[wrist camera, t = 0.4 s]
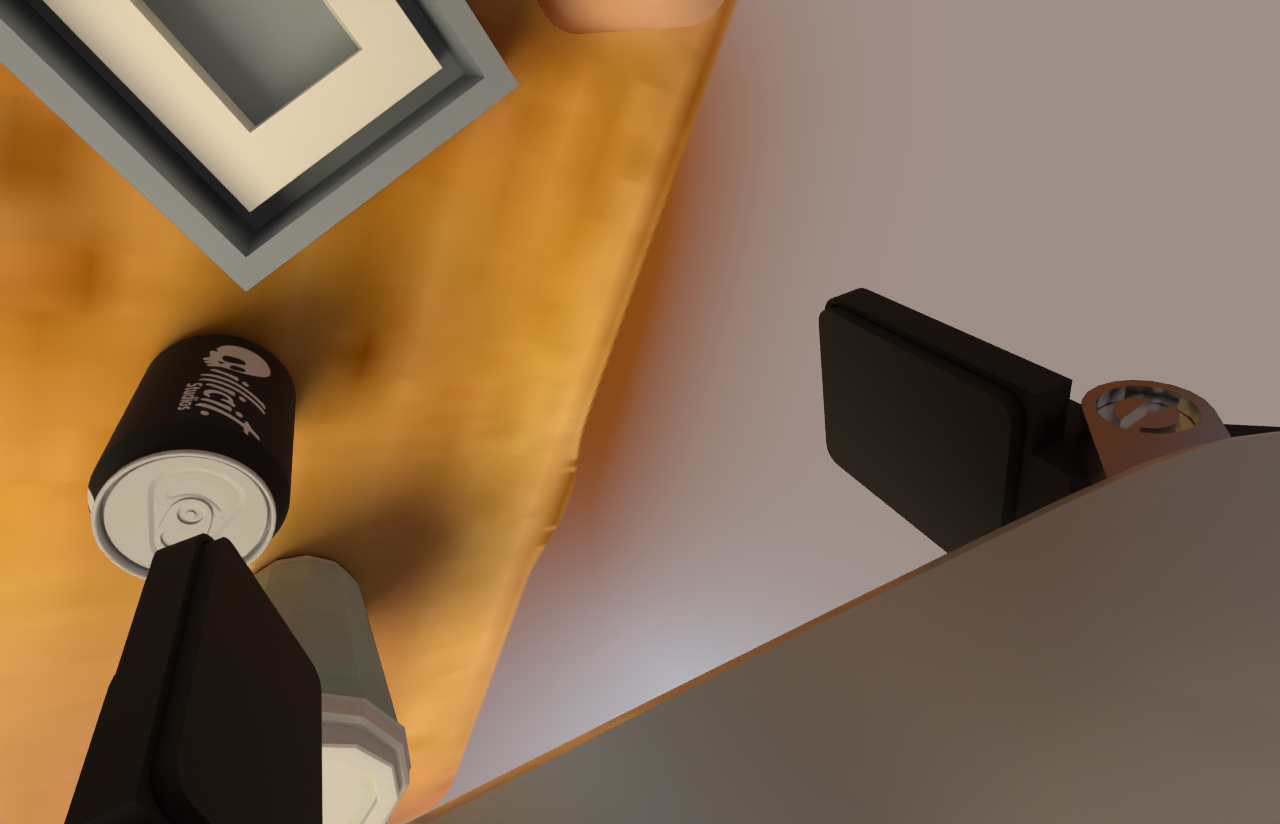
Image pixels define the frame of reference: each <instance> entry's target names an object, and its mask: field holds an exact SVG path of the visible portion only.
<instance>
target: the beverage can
mask: <svg viewBox="0 0 1280 824" xmlns="http://www.w3.org/2000/svg"><path fill="white" fill-rule="evenodd" d="M295 404H296V395H295V388H294V385H293V382H292V379H291V377H290V375H289V373H288V371H287V370H286V368H285V367H284V366H283V365H282V363H281V362H280V361H279V360H278V359H277V358H276V357H275V356H274V355H272V354H271V353H270V352H268V351H267V350H265V349H264V348H262V347H261V346H259V345H257V344H255V343H253V342H250V341H248V340H245V339H241V338H237V337H233V336H226V335H203V336H197V337H192V338H188V339H185V340H182V341H180V342H178V343H175V344H173V345H172V346H170V347H168V348H167V349H165V350H164V351H163V352H161V353H160V354H159V355H158V356H157V357H156V358H155V359H154V360H153V362H152V363H151V364H150V366H149V367H148V369H147V371H146V373H145V375H144V377H143V378H142V380H141V382H140V384H139V386H138V388H137V390H136V392H135V394H134V395H133V397H132V399H131V401H130V403H129V405H128V407H127V409H126V410H125V412H124V414H123V416H122V418H121V420H120V422H119V424H118V426H117V427H116V429H115V431H114V433H113V435H112V437H111V439H110V441H109V443H108V444H107V446H106V448H105V450H104V452H103V454H102V456H101V458H100V460H99V461H98V463H97V465H96V467H95V469H94V471H93V473H92V475H91V478H90V482H89V485H88V506H89V511H90V514H91V524H92V530H93V535H94V537H95V540H96V542H97V544H98V546H99V547H100V549H101V550H102V551H103V553H104V554H105V555H106V556H107V557H108V558H109V559H110V560H111V561H112V562H113V563H114V564H115V565H117V566H118V567H119V568H121V569H123V570H124V571H126V572H128V573H130V574H132V575H134V576H136V577H139V578H141V579H144V580H146V578H147V575H148V571H149V568H150V565H151V562H152V559H153V556H154V554H155V552H156V551H157V550H159V549H162V548H164V547H167V546H170V545H172V544H175V543H178V542H180V541H183V540H186V539H188V538H191V537H194V536H196V535H199V534H202V533H205V534H208V535H209V536H211V537H212V538H213V539H214V540H216V539H219V538H222V537H226V538H228V539H229V540H230V541H231V542H232V544H233V545H234V546H235V548H236V549H237V551H238V552H239V554H240V555H241V557H242V558H243V560H244V561H245V563H246V564H247V566H249V565H250V564H251V563H252V562H253V561H255V560H256V559H257V558H258V557H259V556H260V555H261V554H262V553H263V551H264V550H265V549H266V547H267V546H268V544H269V542H270V540H271V539H272V538H273V536H274V535H275V534H276V533H277V532H278V530H279V529H280V527H281V526H282V524H283V522H284V520H285V518H286V515H287V512H288V509H289V503H290V490H291V473H292V456H293V438H294V421H295Z"/></svg>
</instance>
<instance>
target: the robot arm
mask: <svg viewBox="0 0 1280 824" xmlns="http://www.w3.org/2000/svg"><path fill="white" fill-rule="evenodd" d="M819 333H820V350H821V366H822V382H823V397H824V414H825V430H826V444H827V449H828V452H829V454H830V456H831V458H832V459H833V460H834V462H835V463H836V464H838V465H839V466H840V467H841V468H842V469H844V470H845V471H846V472H847V473H849V474H850V475H851V476H852V477H854V478H855V479H856V480H857V481H859V482H860V483H861V484H862V485H863V486H865V487H866V488H867V489H869V490H870V491H871V492H872V493H873V494H875V495H876V496H877V497H878V498H880V499H881V500H882V501H884V502H885V503H886V504H887V505H888V506H890V507H891V508H892V509H893V510H895V511H896V512H897V513H898V514H900V515H901V516H902V517H904V518H905V519H906V520H907V521H909V522H910V523H911V524H912V525H914V526H915V527H916V528H917V529H918V530H920V531H921V532H922V533H924V534H925V535H926V536H927V537H928V538H929V539H931V540H932V541H933V542H934V543H936V544H937V545H938V546H939V547H941V548H942V549H943V550H944V551H946V552H947V553H948V554H945V555H943V556H941V557H939V558H937V559H935V560H933V561H931V562H929V563H927V564H925V565H923V566H921V567H919V568H917V569H915V570H913V571H911V572H909V573H907V574H905V575H903V576H901V577H898V578H897V579H895V580H892V581H890V582H888V583H886V584H884V585H882V586H880V587H878V588H876V589H874V590H872V591H870V592H868V593H866V594H864V595H862V596H860V597H858V598H856V599H854V600H851V601H850V602H848V603H845V604H843V605H842V606H840V607H837V608H835V609H834V610H831V611H830V612H827V613H825V614H823V615H821V616H819V617H817V618H815V619H813V620H811V621H809V622H807V623H805V624H803V625H801V626H799V627H797V628H795V629H793V630H791V631H789V632H787V633H785V634H783V635H781V636H779V637H777V638H775V639H773V640H771V641H769V642H767V643H765V644H763V645H761V646H759V647H757V648H755V649H753V650H751V651H749V652H747V653H745V654H743V655H741V656H739V657H737V658H735V659H733V660H730V661H728V662H727V663H725V664H722V665H720V666H719V667H717V668H715V669H712V670H710V671H708V672H706V673H704V674H703V675H701V676H698V677H696V678H694V679H692V680H690V681H688V682H686V683H684V684H683V685H680V686H678V687H676V688H674V689H672V690H670V691H668V692H666V693H664V694H662V695H660V696H658V697H656V698H654V699H652V700H650V701H648V702H646V703H644V704H642V705H640V706H638V707H636V708H634V709H632V710H630V711H628V712H626V713H624V714H622V715H620V716H618V717H616V718H614V719H612V720H610V721H608V722H606V723H605V724H602V725H600V726H599V727H596V728H595V729H593V730H591V731H589V732H587V733H585V734H583V735H581V736H579V737H577V738H575V739H573V740H571V741H569V742H567V743H565V744H563V745H561V746H559V747H557V748H555V749H553V750H551V751H549V752H547V753H545V754H543V755H541V756H539V757H537V758H535V759H533V760H531V761H529V762H527V763H525V764H523V765H521V766H519V767H517V768H515V769H513V770H511V771H509V772H507V773H506V774H503V775H501V776H499V777H497V778H495V779H493V780H491V781H489V782H487V783H485V784H483V785H481V786H479V787H477V788H475V789H473V790H471V791H470V792H467V793H466V794H463V795H461V796H459V797H458V798H455V799H454V800H451V801H450V802H448V803H446V804H444V805H442V806H440V807H438V808H436V809H434V810H432V811H430V812H428V813H426V814H424V815H422V816H420V817H419V818H417V819H415V820H413V821H411V822H409V823H407V824H1280V427H1269V426H1248V425H1229V424H1223V423H1222V421H1221V419H1220V418H1219V416H1218V415H1217V413H1216V411H1215V410H1214V408H1213V407H1212V406H1211V405H1210V404H1209V403H1208V402H1207V401H1206V400H1205V399H1203V398H1201V397H1200V396H1198V395H1196V394H1194V393H1192V392H1191V391H1188V390H1185V389H1182V388H1179V387H1177V386H1173V385H1170V384H1164V383H1159V382H1154V381H1141V380H1126V381H1114V382H1110V383H1106V384H1103V385H1099V386H1097V387H1095V388H1093V389H1092V390H1090V391H1088V392H1087V393H1086V395H1085V396H1084V398H1083V399H1082V403H1081V404H1079V403H1077V402H1075V401H1073V400H1070V399H1069V398H1070V391H1071V385H1072V380H1071V379H1069V378H1067V377H1064V376H1062V375H1060V374H1058V373H1055V372H1053V371H1051V370H1048V369H1046V368H1044V367H1042V366H1040V365H1037V364H1035V363H1033V362H1030V361H1028V360H1026V359H1024V358H1021V357H1019V356H1017V355H1015V354H1012V353H1010V352H1008V351H1006V350H1003V349H1001V348H999V347H996V346H994V345H992V344H990V343H987V342H985V341H983V340H981V339H978V338H976V337H974V336H972V335H969V334H967V333H965V332H963V331H960V330H958V329H956V328H954V327H951V326H949V325H947V324H944V323H942V322H940V321H938V320H935V319H933V318H930V317H929V316H926V315H924V314H922V313H920V312H917V311H915V310H913V309H910V308H908V307H906V306H904V305H901V304H899V303H897V302H895V301H892V300H890V299H888V298H885V297H883V296H881V295H879V294H876V293H874V292H872V291H869V290H867V289H864V288H859V289H856V290H853V291H851V292H848V293H845V294H842V295H840V296H837V297H834V298H832V299H830V300H829V301H828V302H827V304H826V306H825V310H824V311H822V312H821V313H820V316H819ZM64 824H323V812H322V691H321V683H320V679H319V676H318V673H317V671H316V668H315V666H314V665H313V663H312V661H311V660H310V658H309V657H308V655H307V654H306V652H305V651H304V649H303V648H302V646H301V645H300V643H299V642H298V640H297V639H296V637H295V636H294V634H293V633H292V631H291V630H290V628H289V627H288V625H287V624H286V622H285V621H284V620H283V618H282V617H281V615H280V614H279V612H278V611H277V609H276V608H275V606H274V605H273V603H272V602H271V600H270V599H269V597H268V596H267V594H266V593H265V591H264V590H263V588H262V587H261V585H260V584H259V582H258V581H257V579H256V578H255V576H254V575H253V573H252V572H251V570H250V569H249V567H248V566H247V564H246V563H245V561H244V560H243V558H242V557H241V555H240V554H239V552H238V551H237V549H236V548H235V546H234V545H233V544H232V542H231V541H230V540H229V539H228V538H226V537H222V538H219V539H216V540H214V539H213V538H212V537H211V536H209V535H208V534H205V533H202V534H199V535H196V536H194V537H191V538H188V539H186V540H183V541H180V542H178V543H175V544H172V545H170V546H167V547H164V548H162V549H159V550H157V551H156V552H155V554H154V556H153V559H152V562H151V565H150V568H149V571H148V575H147V578H146V581H145V584H144V587H143V590H142V593H141V596H140V600H139V603H138V606H137V609H136V612H135V615H134V618H133V621H132V625H131V628H130V631H129V634H128V637H127V640H126V643H125V646H124V650H123V653H122V656H121V659H120V662H119V665H118V668H117V671H116V675H114V677H113V679H112V681H111V683H110V685H109V687H108V690H107V694H106V697H105V700H104V703H103V706H102V709H101V712H100V715H99V718H98V721H97V724H96V727H95V730H94V734H93V737H92V740H91V743H90V746H89V749H88V752H87V755H86V758H85V761H84V764H83V767H82V771H81V774H80V777H79V780H78V783H77V786H76V789H75V792H74V795H73V798H72V801H71V804H70V808H69V811H68V814H67V817H66V820H65V823H64Z"/></svg>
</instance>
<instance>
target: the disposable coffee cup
mask: <svg viewBox="0 0 1280 824" xmlns="http://www.w3.org/2000/svg"><path fill="white" fill-rule="evenodd" d="M254 576H255V578H256V579H257V581H258V582H259V584H260V585H261V587H262V588H263V590H264V591H265V593H266V594H267V596H268V597H269V599H270V600H271V602H272V603H273V605H274V606H275V608H276V609H277V611H278V612H279V614H280V615H281V617H282V618H283V620H284V621H285V622H286V624H287V625H288V627H289V628H290V630H291V631H292V633H293V634H294V636H295V637H296V639H297V640H298V642H299V643H300V645H301V646H302V648H303V649H304V651H305V652H306V654H307V655H308V657H309V658H310V660H311V661H312V663H313V665H314V666H315V668H316V671H317V673H318V676H319V679H320V683H321V691H322V812H323V824H386V822H387V820H388V819H389V817H390V815H391V814H392V812H393V810H394V809H395V807H396V805H397V803H398V802H399V800H400V798H401V797H402V795H403V793H404V792H405V790H406V788H407V787H408V785H409V770H410V768H411V764H410V757H409V751H408V745H407V739H406V733H405V727H403V726H402V725H401V724H399V723H398V721H397V718H396V714H395V711H394V707H393V704H392V700H391V697H390V693H389V690H388V686H387V683H386V679H385V676H384V672H383V669H382V665H381V662H380V658H379V655H378V651H377V648H376V644H375V641H374V637H373V633H372V630H371V626H370V623H369V619H368V616H367V612H366V609H365V605H364V602H363V598H362V595H361V591H360V588H359V584H358V582H357V581H355V580H354V579H353V577H352V576H351V575H350V574H349V573H348V572H346V571H345V570H344V569H343V568H342V567H341V566H340V565H338V564H337V563H336V562H335V561H331V560H327V559H322V558H318V557H313V556H309V555H304V556H298V557H293V558H287V559H282V560H276V561H275V562H273V563H272V564H270V565H269V566H267V567H266V568H264V569H263V570H261V571H260V572H258V573H257V574H255V575H254Z"/></svg>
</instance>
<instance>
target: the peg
mask: <svg viewBox="0 0 1280 824" xmlns="http://www.w3.org/2000/svg"><path fill="white" fill-rule="evenodd" d="M723 2H724V0H539V3H540V6H541V8H542V10H543V12H544V13H545V15H546V16H547V17H548V19H549V20H550V21H551V22H552V23H553V24H554V25H556V26H557V27H558V28H560V29H562V30H564V31H566V32H569V33H575V34H582V33H598V32H614V31H629V30H645V29H660V28H676V27H688V26H693V25H697V24H699V23H701V22H703V21H705V20H706V19H708V18H709V17H711V16H712V15H713V14H714V13H715V12H716V11H717V10H718V9H719V7H720V6H721V5H722V3H723Z"/></svg>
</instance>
